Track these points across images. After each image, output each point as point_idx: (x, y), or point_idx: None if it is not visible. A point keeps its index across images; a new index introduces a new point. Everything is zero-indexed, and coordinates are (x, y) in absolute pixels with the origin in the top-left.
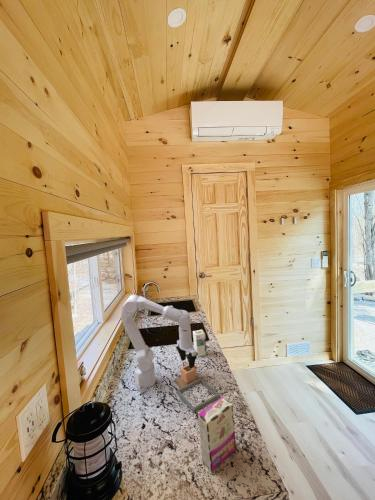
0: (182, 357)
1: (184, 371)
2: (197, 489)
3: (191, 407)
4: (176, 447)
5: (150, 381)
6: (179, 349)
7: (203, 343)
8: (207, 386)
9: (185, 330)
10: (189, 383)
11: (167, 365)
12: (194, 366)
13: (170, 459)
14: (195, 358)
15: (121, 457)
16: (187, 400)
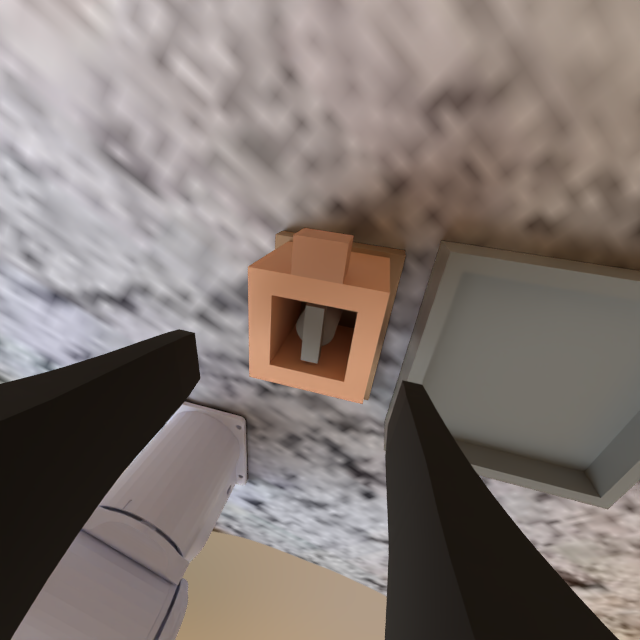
0: (166, 401)
1: (322, 390)
2: None
3: (584, 502)
4: (602, 582)
5: (223, 480)
6: (7, 609)
7: None
8: (584, 289)
9: None
10: (384, 334)
11: (96, 276)
12: (334, 265)
13: (608, 608)
14: (536, 568)
15: None
16: (517, 476)
